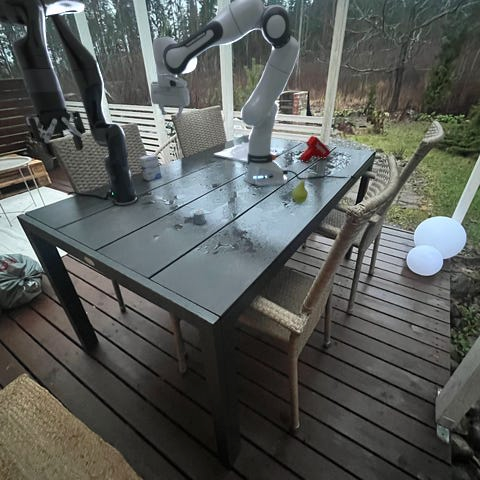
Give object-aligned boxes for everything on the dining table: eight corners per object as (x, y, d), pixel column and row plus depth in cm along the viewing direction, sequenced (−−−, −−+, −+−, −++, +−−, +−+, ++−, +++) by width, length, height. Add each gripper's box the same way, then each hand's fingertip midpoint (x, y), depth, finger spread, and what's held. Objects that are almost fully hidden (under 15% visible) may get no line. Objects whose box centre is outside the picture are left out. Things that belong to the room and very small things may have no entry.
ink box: (157, 175, 153) (153, 153, 146) (161, 177, 150) (158, 155, 143) (143, 178, 148) (138, 157, 141) (147, 181, 145) (143, 158, 138)
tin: (193, 224, 105) (192, 214, 103) (195, 219, 108) (194, 209, 106) (204, 224, 105) (203, 214, 103) (205, 219, 108) (204, 210, 106)
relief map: (256, 164, 167) (256, 156, 164) (213, 155, 185) (213, 147, 182) (278, 154, 185) (279, 147, 183) (238, 147, 203) (237, 140, 200)
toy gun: (301, 158, 166) (316, 136, 163) (297, 156, 169) (311, 135, 166) (317, 172, 178) (330, 152, 175) (312, 170, 181) (326, 150, 178)
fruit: (288, 200, 123) (290, 174, 116) (302, 197, 125) (305, 172, 119) (296, 206, 118) (299, 179, 111) (310, 203, 120) (314, 177, 114)
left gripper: (23, 92, 63) (50, 161, 72) (78, 88, 74) (96, 149, 83) (6, 91, 66) (33, 157, 75) (61, 87, 77) (80, 146, 86)
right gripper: (145, 81, 123) (150, 115, 130) (180, 82, 114) (184, 118, 122) (155, 81, 127) (160, 113, 135) (189, 81, 119) (193, 116, 126)
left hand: (66, 153), depth 79 cm, fingers open, 8 cm apart
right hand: (171, 115), depth 128 cm, fingers open, 8 cm apart
